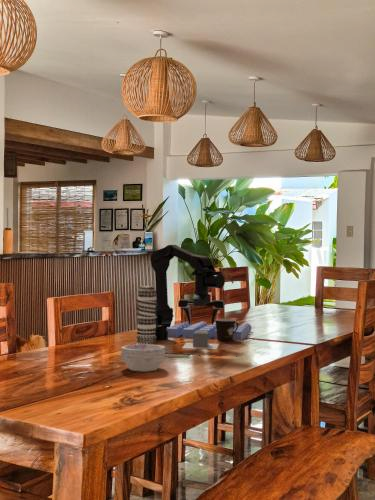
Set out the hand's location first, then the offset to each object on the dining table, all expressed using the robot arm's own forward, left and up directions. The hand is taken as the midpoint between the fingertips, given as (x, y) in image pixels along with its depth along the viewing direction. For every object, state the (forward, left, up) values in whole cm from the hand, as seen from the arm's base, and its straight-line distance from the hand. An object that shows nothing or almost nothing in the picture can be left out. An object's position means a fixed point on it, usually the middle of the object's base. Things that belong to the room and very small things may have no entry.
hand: (201, 324), depth 269 cm
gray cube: (0, 0, -9) cm, 9 cm away
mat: (-8, -16, -10) cm, 21 cm away
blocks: (0, +43, -11) cm, 44 cm away
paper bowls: (-15, -47, -10) cm, 50 cm away
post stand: (0, 0, -10) cm, 10 cm away
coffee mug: (+10, +19, -10) cm, 24 cm away
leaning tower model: (-24, +6, -10) cm, 27 cm away
